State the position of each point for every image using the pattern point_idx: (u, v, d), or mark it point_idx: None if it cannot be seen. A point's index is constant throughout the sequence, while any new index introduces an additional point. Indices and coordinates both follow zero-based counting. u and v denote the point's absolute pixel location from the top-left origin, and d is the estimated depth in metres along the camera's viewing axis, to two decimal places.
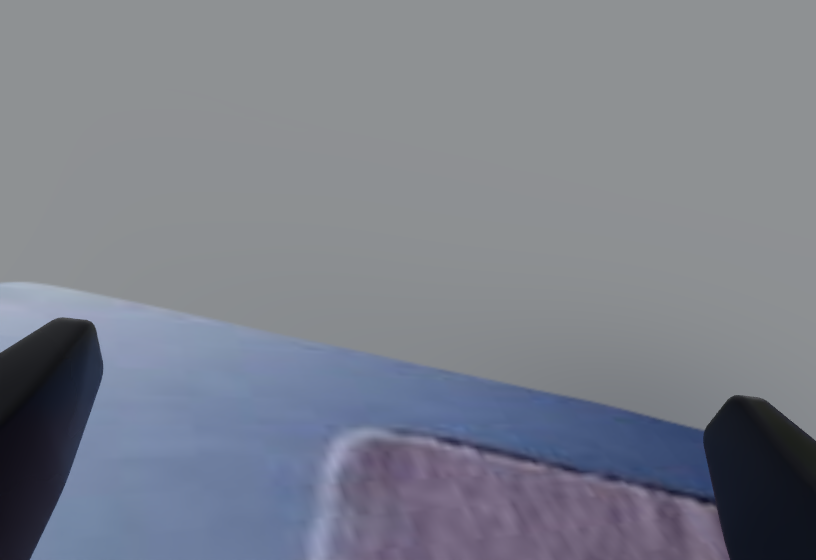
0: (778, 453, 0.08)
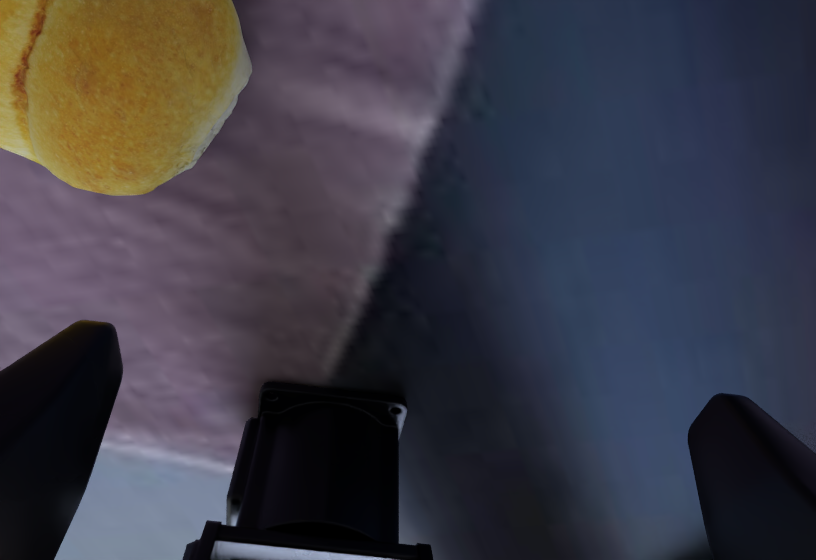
0: (760, 451, 0.07)
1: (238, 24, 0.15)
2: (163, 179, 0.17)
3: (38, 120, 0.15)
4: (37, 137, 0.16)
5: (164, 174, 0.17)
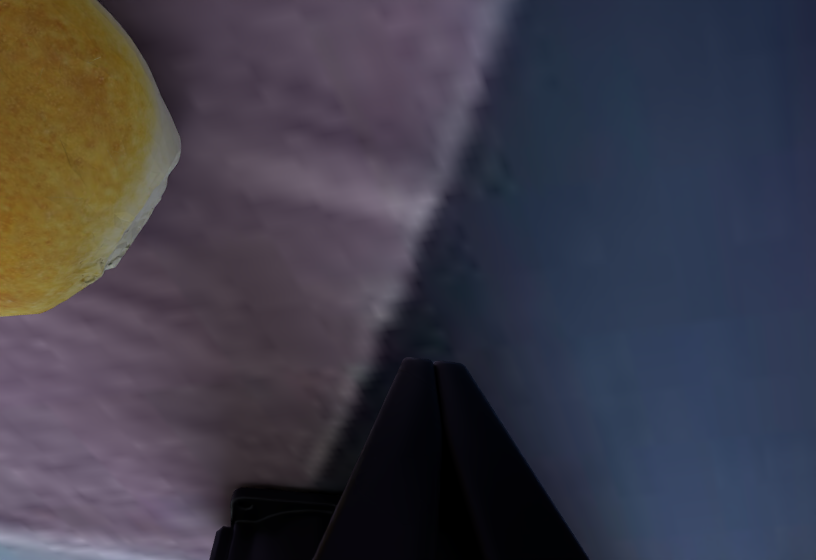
0: (441, 418, 0.07)
1: (151, 92, 0.11)
2: (66, 297, 0.12)
3: None
4: None
5: (64, 293, 0.12)
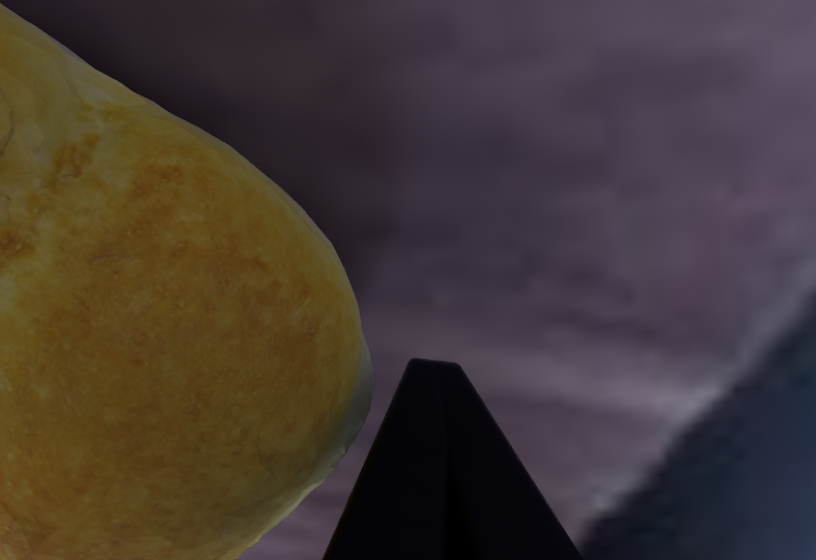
0: None
1: (359, 318, 0.07)
2: None
3: None
4: None
5: None
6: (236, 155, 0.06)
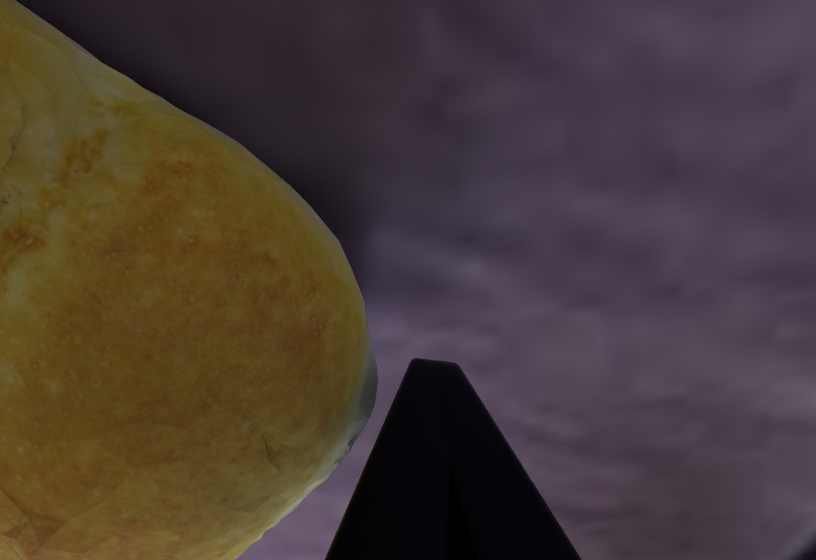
0: None
1: (365, 315, 0.07)
2: None
3: None
4: None
5: None
6: (245, 152, 0.06)
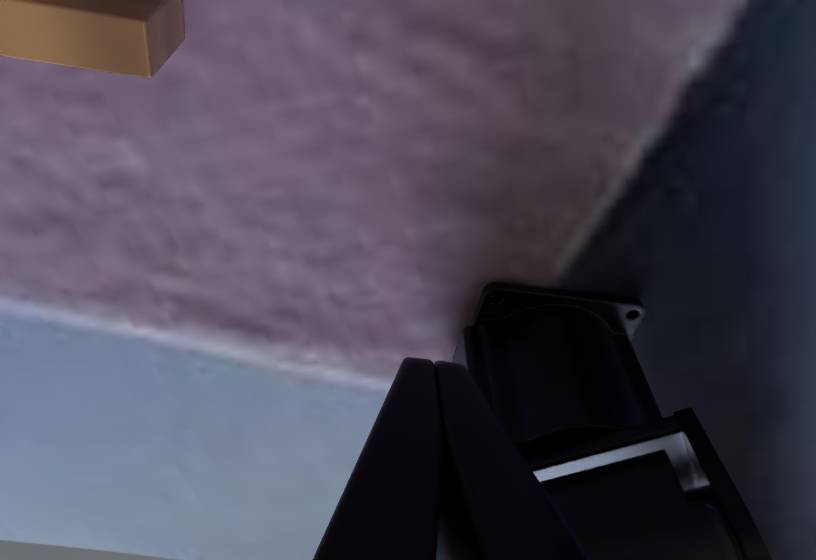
0: (441, 418, 0.07)
1: None
2: None
3: None
4: None
5: None
6: None
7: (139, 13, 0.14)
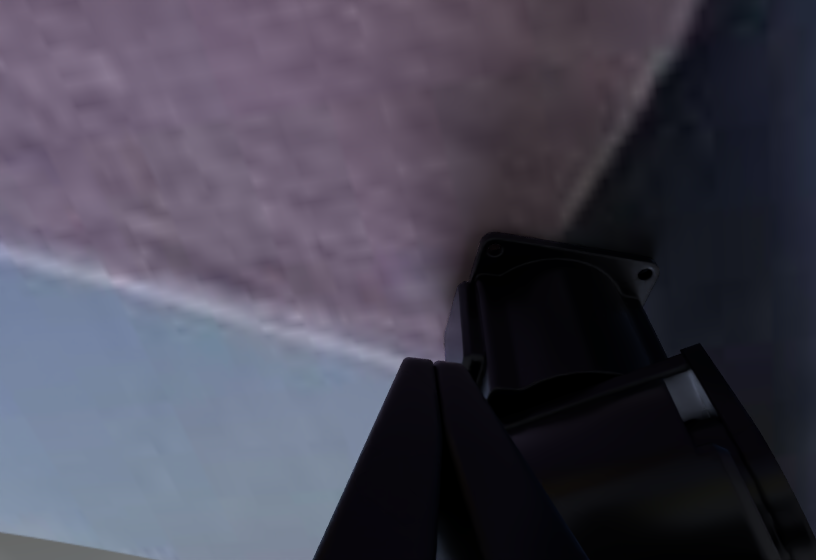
0: (441, 418, 0.07)
1: None
2: None
3: None
4: None
5: None
6: None
7: None
